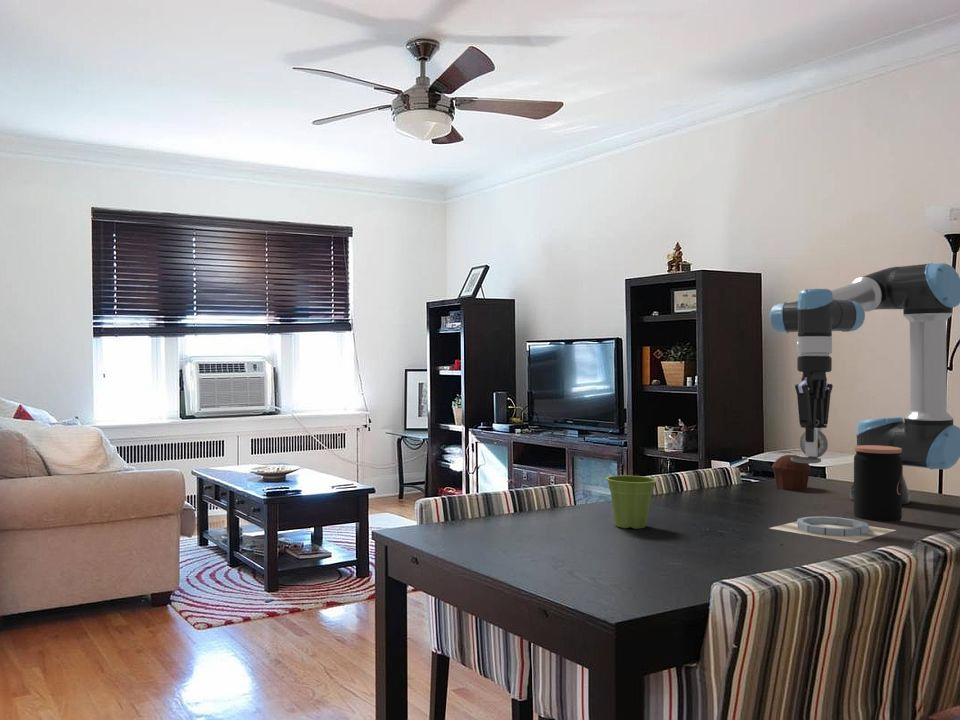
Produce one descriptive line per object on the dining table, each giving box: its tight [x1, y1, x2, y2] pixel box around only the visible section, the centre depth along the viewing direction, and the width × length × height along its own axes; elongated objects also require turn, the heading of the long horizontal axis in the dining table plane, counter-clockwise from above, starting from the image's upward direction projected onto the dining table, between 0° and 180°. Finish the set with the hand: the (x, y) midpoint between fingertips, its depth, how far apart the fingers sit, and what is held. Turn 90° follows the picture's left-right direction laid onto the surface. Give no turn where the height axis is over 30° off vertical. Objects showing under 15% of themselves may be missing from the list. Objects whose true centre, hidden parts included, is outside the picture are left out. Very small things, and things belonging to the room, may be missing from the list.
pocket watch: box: [791, 419, 829, 465], centre depth 200 cm, size 8×8×10 cm
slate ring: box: [797, 515, 870, 536], centre depth 195 cm, size 15×15×2 cm
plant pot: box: [605, 475, 658, 530], centre depth 203 cm, size 12×12×11 cm
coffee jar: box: [853, 445, 903, 522], centre depth 210 cm, size 11×11×18 cm
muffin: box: [771, 454, 812, 491], centre depth 263 cm, size 12×11×10 cm
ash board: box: [768, 521, 897, 544], centre depth 195 cm, size 20×20×1 cm
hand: (813, 455), depth 202 cm, fingers closed on pocket watch
